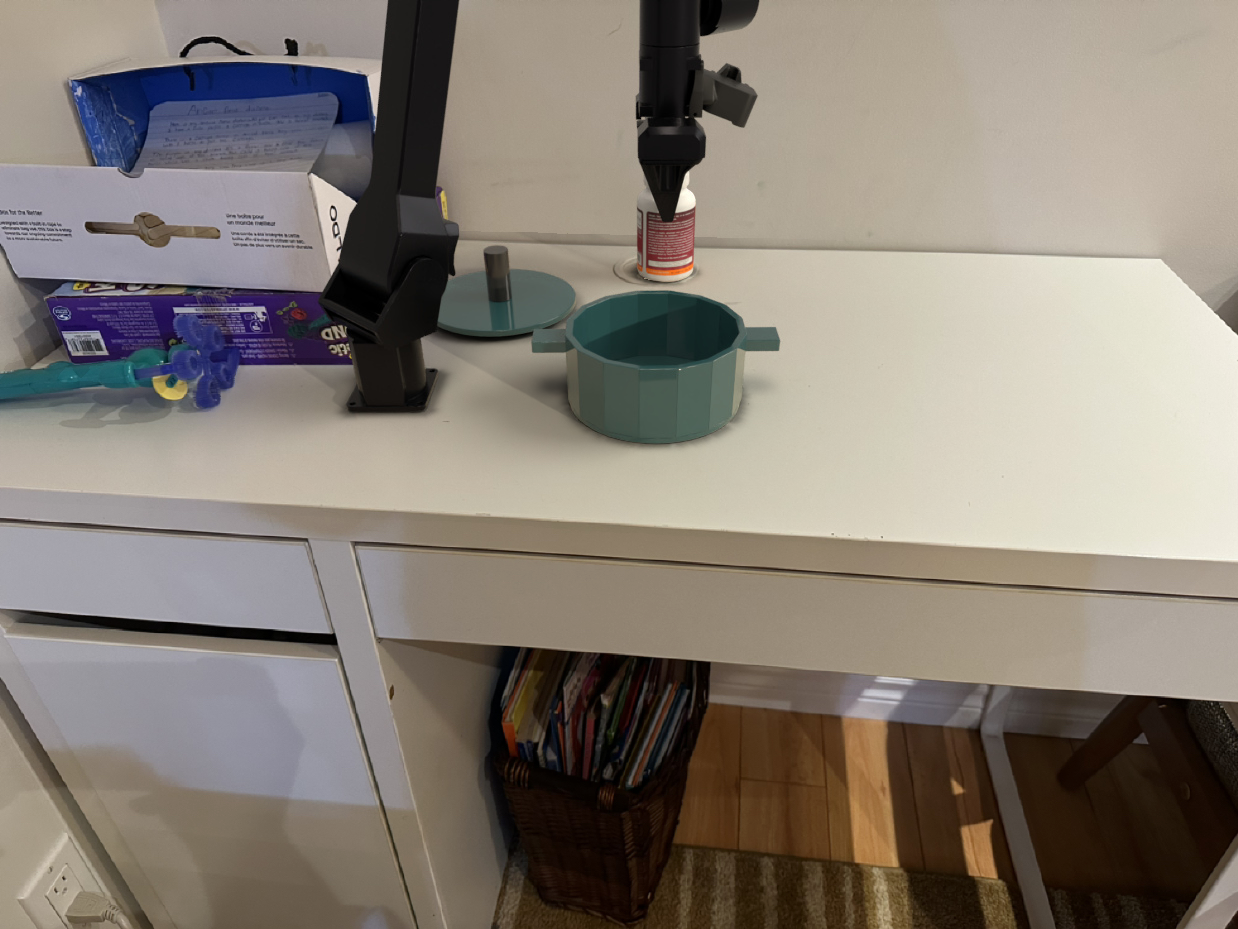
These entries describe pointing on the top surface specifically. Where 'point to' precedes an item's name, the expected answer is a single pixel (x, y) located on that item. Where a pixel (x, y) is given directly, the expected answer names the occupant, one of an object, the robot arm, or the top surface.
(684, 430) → the teal cooking pot
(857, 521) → the top surface
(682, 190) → the pill bottle
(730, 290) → the top surface
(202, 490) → the top surface
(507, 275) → the lid
